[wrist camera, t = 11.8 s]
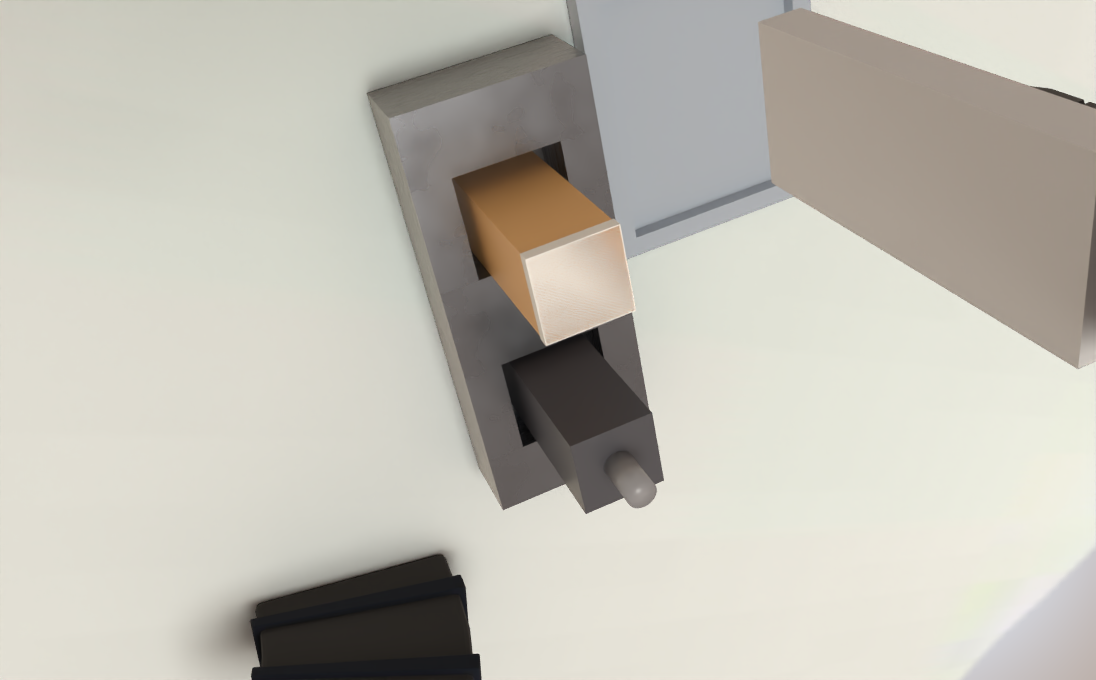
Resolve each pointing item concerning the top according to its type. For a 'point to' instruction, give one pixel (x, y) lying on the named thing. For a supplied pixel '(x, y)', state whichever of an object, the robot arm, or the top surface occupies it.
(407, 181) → the slotted metal block
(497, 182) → the plug
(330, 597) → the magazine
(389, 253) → the top surface
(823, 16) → the robot arm
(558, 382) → the twin plug
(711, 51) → the tray
